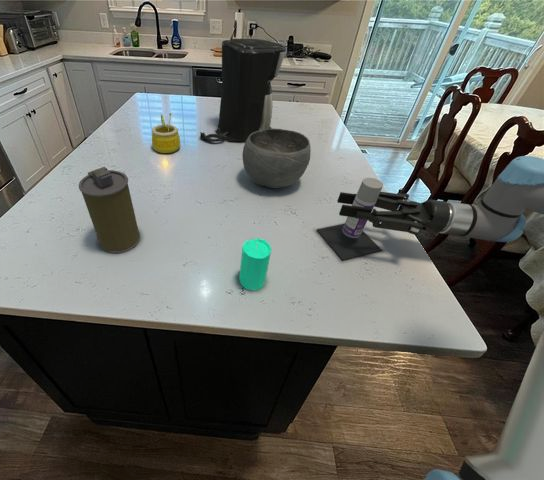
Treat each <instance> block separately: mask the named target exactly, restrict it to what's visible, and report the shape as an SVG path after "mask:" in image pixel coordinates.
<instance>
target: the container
mask: <svg viewBox="0 0 544 480" xmlns="http://www.w3.org/2000/svg"><path fill="white" fill-rule="evenodd" d="M383 187H384V183H383V182H382V181H381V180H379V179H377V178H375V177H365V178H363V179H362V181H361V183H360V185H359V188H358V190H357V192H356V194H357V195H356V197H355V199H354V202H353V204H352V205H351V206H357V207H364V208H371V210H372V211H373V209H375V207H374V206H375V203H376V201H377V199H378V196H379V194H380V192H382V190H383ZM372 211H371V213H372ZM368 222H369V221H368V220H364V219H357V218H354V217H347V216H346V219H345V222H344V223H345V224H344V223H343V224H344V227H343V229H342V231H343V233H344V234H345V235H346V236H348V237H351V238H358V237H360V235H361V233H362V231H363V232H364V229H365V227H366V226H367V223H368Z"/></svg>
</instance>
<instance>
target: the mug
mask: <svg viewBox="0 0 544 480" xmlns="http://www.w3.org/2000/svg"><path fill="white" fill-rule="evenodd" d="M171 116H172V112H170V113H169V119H168V124H167V123H166V122H165V117H164V114H160V120H161V124H158V125H155V126H154V127H153V128H152V129H151V133H152V134H151V145H152V148H153V150H154V151H156V152H157V153H161V154H172V153H175V152H176V151H178V150H179V149H180V147H181V138H180V134H179V129H178V127H177V126H176V125H173V124H170V122H171Z"/></svg>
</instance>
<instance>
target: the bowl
mask: <svg viewBox="0 0 544 480" xmlns="http://www.w3.org/2000/svg"><path fill="white" fill-rule="evenodd" d="M311 152H312V151H311V142H310V139H309V138H308V137H307V136H305V135H304V134H303V133H301V132H298V131H294V130H288V129H283V128H272V129H264V130H259V131H256V132H253V133H251V134H250V135H249V137H248V138H247V140H246V141H245V142H244V145H243V149H242V157H241V158H242V164H243V168H244V170H245V172H246V173H247V175H248V177H249V178H250V179H251V180H252V181H253V182H254V183H256V184H258V185H260V186H262V187H266V188H271V189H278V188H285V187H288V186H290V185H293V184H295V182H297V181H298V180H299V179H300V178H301V177H303V175H304V174H305V172H306V170H307V168H308V166H309V165H310V161H311Z"/></svg>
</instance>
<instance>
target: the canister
mask: <svg viewBox="0 0 544 480" xmlns="http://www.w3.org/2000/svg"><path fill="white" fill-rule="evenodd" d="M78 189H79V191H80V192H81V194H82V198H83V200H84V203H85V206H86V209H87V211H88V214H89V217H90V220H91V222H92V226H93V228H94V231H95V234H96V237H97V240H98V245H99V248H101V249H102V250H103V251H104V252H106V253H110V254H121V253H122V254H123V253H125V252H127V251H131V250H132V249H134V248H135V247H136V246H137V245H138V244H139V242H140V240H141V233H140V231H139V227H138V222H137V218H136V214H135V210H134V204H133V201H132V195H131V192H130V188H129V178H128V176H127V175H126V174H125V173H124V172H121V171H118V170H114V169H108V168H107V167H106V166H102V167H99V168H96V169H94V170H91V171H88V172H87V175H85V176H83V178H82V179H81V180H80V181H79V182H78Z"/></svg>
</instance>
